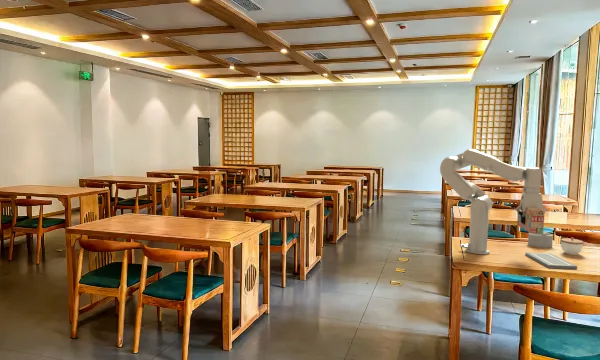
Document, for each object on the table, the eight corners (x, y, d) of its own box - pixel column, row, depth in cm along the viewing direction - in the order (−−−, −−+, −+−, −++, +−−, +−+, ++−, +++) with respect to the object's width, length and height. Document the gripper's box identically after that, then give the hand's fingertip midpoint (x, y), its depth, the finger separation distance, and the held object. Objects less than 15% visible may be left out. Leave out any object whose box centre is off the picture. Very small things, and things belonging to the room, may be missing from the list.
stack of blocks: (516, 225, 234) (517, 203, 233) (528, 225, 232) (529, 204, 231) (530, 233, 213) (531, 209, 212) (543, 233, 211) (544, 209, 210)
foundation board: (548, 268, 209) (548, 265, 209) (525, 255, 233) (525, 252, 233) (577, 269, 209) (577, 266, 208) (550, 255, 232) (551, 253, 232)
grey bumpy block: (554, 247, 252) (555, 233, 251) (533, 247, 251) (534, 233, 251) (543, 243, 263) (544, 229, 262) (523, 243, 262) (524, 229, 261)
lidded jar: (559, 250, 246) (561, 234, 245) (581, 252, 240) (582, 237, 240) (560, 254, 237) (561, 238, 236) (582, 257, 231) (584, 240, 230)
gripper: (518, 191, 217) (516, 224, 219) (552, 191, 216) (550, 225, 218) (511, 189, 225) (510, 222, 226) (545, 190, 224) (543, 222, 225)
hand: (530, 223), depth 222 cm, fingers closed on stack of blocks, 6 cm apart
